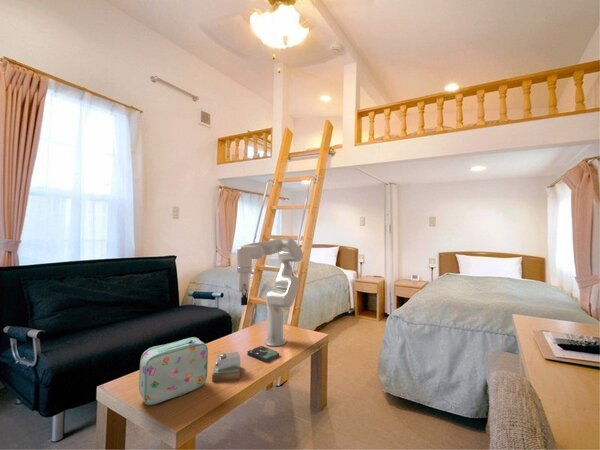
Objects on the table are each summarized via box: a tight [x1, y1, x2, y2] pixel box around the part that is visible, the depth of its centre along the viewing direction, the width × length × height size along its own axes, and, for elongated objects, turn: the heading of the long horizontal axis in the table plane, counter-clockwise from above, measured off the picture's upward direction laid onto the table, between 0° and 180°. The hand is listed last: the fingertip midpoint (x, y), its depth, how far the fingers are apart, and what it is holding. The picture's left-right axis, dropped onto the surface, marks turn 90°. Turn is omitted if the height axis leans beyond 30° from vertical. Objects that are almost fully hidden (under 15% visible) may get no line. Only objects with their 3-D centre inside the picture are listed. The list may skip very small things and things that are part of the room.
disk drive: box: [246, 345, 280, 364], centre depth 155 cm, size 10×3×15 cm
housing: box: [214, 351, 241, 371], centre depth 136 cm, size 11×6×6 cm, turn 113°
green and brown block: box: [211, 364, 241, 382], centre depth 136 cm, size 12×12×3 cm
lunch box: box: [138, 336, 209, 406], centre depth 121 cm, size 27×10×21 cm, turn 133°
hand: (244, 302), depth 149 cm, fingers open, 9 cm apart
